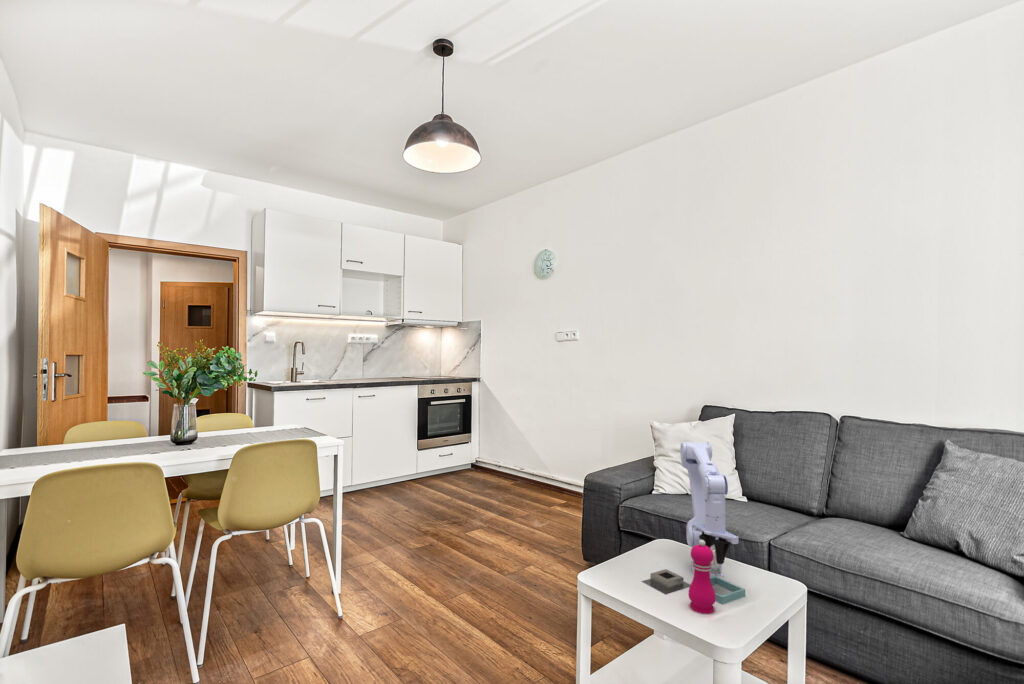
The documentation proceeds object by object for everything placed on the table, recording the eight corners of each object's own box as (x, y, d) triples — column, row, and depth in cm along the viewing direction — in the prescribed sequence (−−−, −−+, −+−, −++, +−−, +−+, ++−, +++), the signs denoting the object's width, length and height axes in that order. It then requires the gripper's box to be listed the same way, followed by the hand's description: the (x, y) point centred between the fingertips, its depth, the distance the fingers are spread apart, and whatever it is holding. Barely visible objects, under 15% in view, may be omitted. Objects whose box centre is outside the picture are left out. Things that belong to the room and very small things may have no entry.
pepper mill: (701, 620, 136) (701, 546, 136) (682, 608, 142) (682, 537, 143) (721, 615, 138) (721, 542, 139) (702, 603, 145) (702, 534, 146)
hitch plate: (668, 576, 163) (668, 565, 163) (692, 589, 154) (692, 577, 154) (641, 584, 157) (641, 573, 157) (665, 597, 148) (665, 585, 148)
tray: (715, 585, 157) (715, 576, 157) (745, 599, 148) (745, 589, 148) (692, 593, 152) (692, 583, 152) (722, 607, 143) (722, 597, 143)
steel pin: (714, 569, 152) (714, 541, 152) (722, 573, 149) (722, 544, 149) (707, 571, 150) (707, 542, 151) (715, 574, 148) (715, 545, 148)
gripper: (686, 511, 155) (687, 555, 154) (727, 523, 143) (727, 572, 142) (702, 508, 159) (702, 551, 158) (742, 520, 146) (743, 567, 145)
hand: (715, 561), depth 150 cm, fingers closed on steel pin, 3 cm apart
